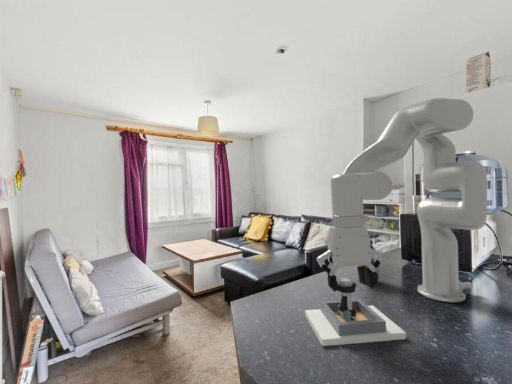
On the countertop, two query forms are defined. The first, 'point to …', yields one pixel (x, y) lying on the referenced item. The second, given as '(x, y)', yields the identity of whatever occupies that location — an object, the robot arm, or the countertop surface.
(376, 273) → the coffee mug
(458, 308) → the countertop surface
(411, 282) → the countertop surface
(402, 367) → the countertop surface
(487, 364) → the countertop surface
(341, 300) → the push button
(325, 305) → the dock board
